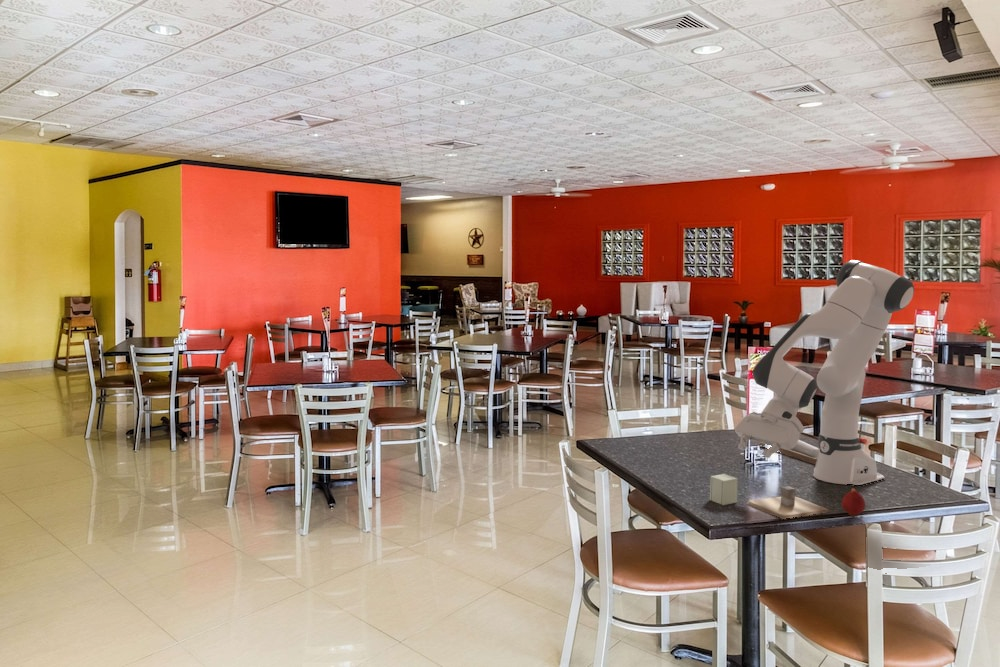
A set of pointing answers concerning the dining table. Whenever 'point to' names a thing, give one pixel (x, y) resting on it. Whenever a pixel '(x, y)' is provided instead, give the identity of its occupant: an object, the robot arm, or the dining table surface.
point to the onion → (853, 503)
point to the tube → (805, 449)
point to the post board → (785, 510)
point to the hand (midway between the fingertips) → (752, 452)
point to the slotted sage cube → (723, 489)
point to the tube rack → (797, 455)
